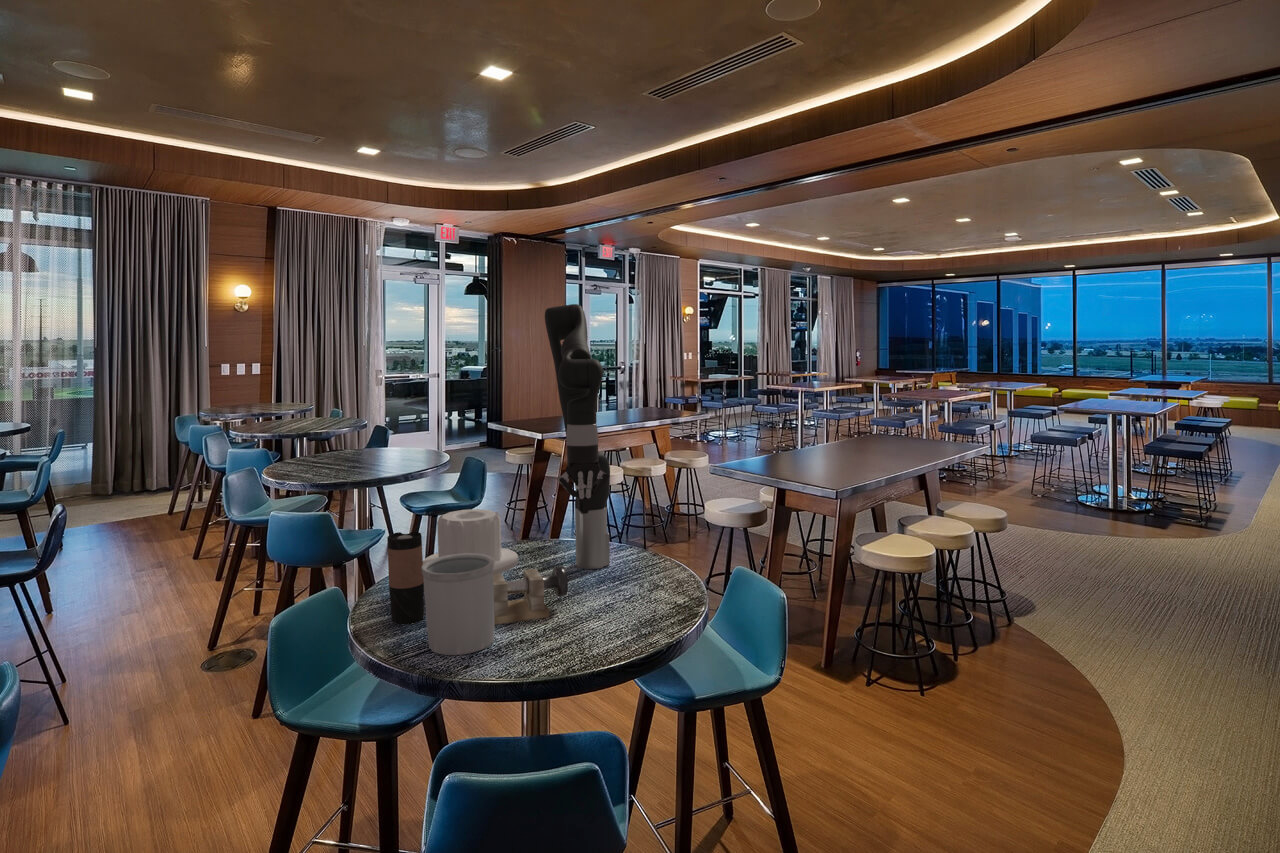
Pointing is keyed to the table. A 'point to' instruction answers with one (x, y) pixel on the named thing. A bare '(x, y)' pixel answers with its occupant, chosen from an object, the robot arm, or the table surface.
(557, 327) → the robot arm
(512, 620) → the block
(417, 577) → the travel mug
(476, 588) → the utensil holder
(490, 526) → the ribbed cylinder on disc
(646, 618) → the table surface
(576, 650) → the table surface
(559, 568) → the shaft
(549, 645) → the table surface
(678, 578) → the table surface
